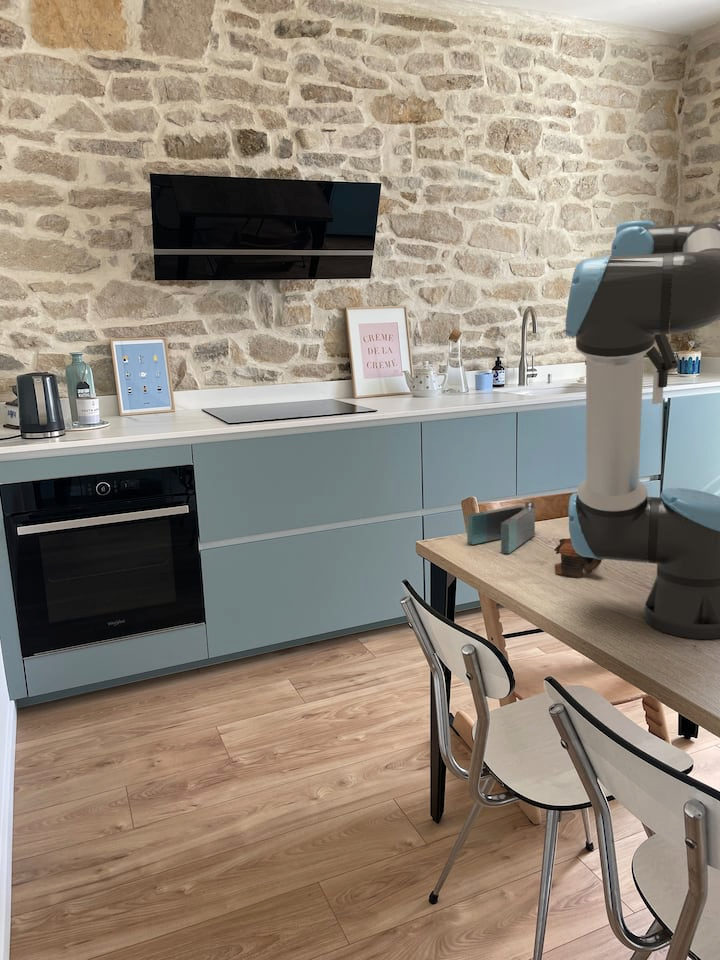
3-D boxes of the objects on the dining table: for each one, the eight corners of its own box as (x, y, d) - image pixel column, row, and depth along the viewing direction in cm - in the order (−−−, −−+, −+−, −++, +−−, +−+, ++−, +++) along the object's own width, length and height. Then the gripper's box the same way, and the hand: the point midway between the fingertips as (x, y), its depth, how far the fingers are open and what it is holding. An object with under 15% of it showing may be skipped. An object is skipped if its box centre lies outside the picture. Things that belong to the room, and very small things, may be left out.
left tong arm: (519, 531, 187) (519, 504, 185) (524, 533, 185) (524, 506, 184) (467, 542, 180) (467, 514, 178) (472, 544, 178) (471, 516, 176)
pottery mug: (541, 573, 160) (546, 536, 162) (570, 584, 164) (575, 548, 166) (586, 574, 150) (591, 534, 152) (616, 585, 154) (620, 547, 156)
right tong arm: (527, 534, 184) (527, 507, 183) (534, 535, 183) (535, 508, 182) (501, 552, 172) (501, 523, 170) (508, 553, 171) (509, 524, 169)
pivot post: (530, 535, 184) (530, 504, 183) (523, 534, 186) (523, 503, 184) (535, 533, 186) (536, 502, 184) (528, 532, 187) (528, 501, 186)
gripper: (699, 297, 148) (692, 403, 153) (590, 300, 167) (587, 395, 172) (680, 297, 143) (674, 407, 148) (570, 301, 162) (568, 398, 167)
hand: (627, 401), depth 160 cm, fingers open, 13 cm apart
